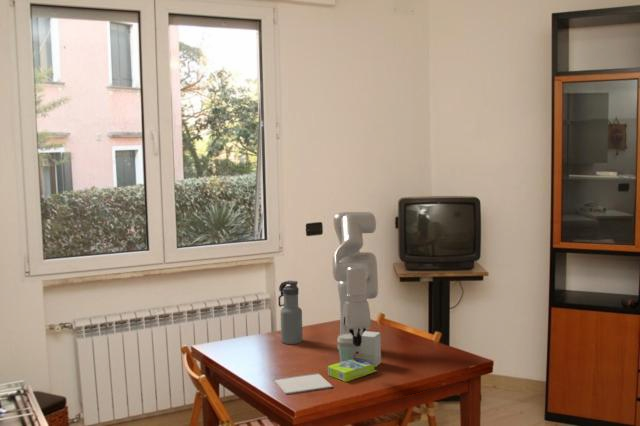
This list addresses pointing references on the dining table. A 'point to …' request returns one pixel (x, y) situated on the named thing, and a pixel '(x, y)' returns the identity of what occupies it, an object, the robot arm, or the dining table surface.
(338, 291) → the robot arm
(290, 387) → the mat
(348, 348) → the coffee cup
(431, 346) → the dining table surface
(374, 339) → the supplement box
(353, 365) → the box
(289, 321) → the water bottle
